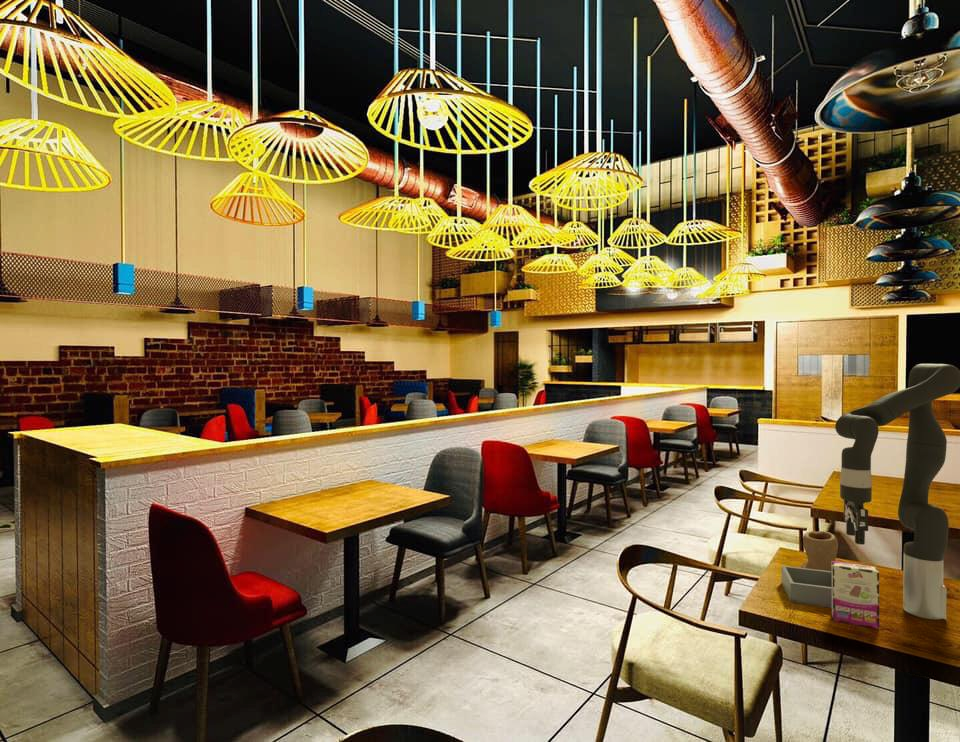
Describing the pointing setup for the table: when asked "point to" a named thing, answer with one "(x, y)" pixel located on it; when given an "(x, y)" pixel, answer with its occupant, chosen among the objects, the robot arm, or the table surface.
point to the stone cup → (819, 550)
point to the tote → (808, 586)
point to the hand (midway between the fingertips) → (855, 539)
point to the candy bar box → (855, 594)
